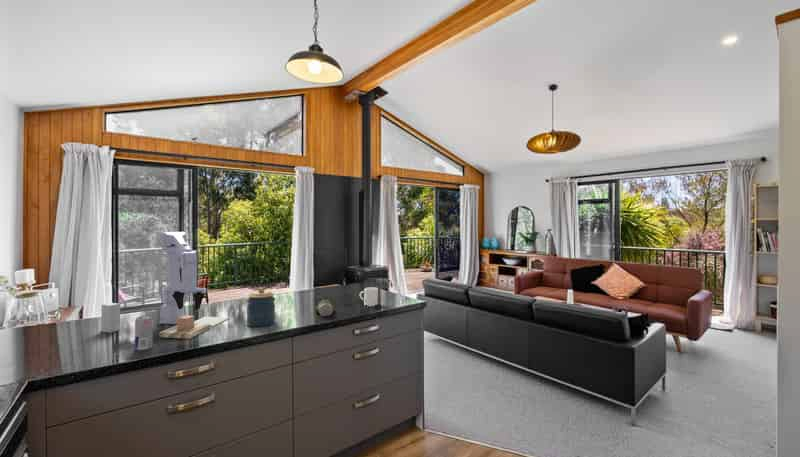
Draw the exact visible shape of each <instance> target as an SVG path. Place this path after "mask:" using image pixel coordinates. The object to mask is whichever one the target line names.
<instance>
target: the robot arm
mask: <svg viewBox="0 0 800 457" xmlns="http://www.w3.org/2000/svg"><path fill="white" fill-rule="evenodd" d="M187 240H188V235H187V233H186V231H163V232H161V234H160V243H161V244H160V246H161V249H162V250H163V251H165V253H166V260H167V272H168V274H167V275H168V284H167V285H166V286H164V287H163V289H162V295H161V298H162V303H163V304H162V305H161V307H160V312H159V315H160V318H159V319H160V321H159V322H158V324H165V325H166V324H167V325H168V324H169V325H177V318H180V317H182V316H185V304H186V302H187V301H188V300H189V293H190V294H191V293H192V294H193V298H194V308H195V310H199V309H201V305H202V301H203V299H204V298H205V295H206V293H207V288H206V287H205V288H204V287H198V286H197V285H198V284H197V278H198V277H197V274H198V273H197V272H198V271H197V270H198V269H197V268H198V266H197V265H198V264H199V260H200V257H199V252H198V251H197V250H194V249H193V248H192V246H191V245H190V244H189V243H188V242H187ZM180 270H181V272H180ZM180 273H181V274H180Z"/></svg>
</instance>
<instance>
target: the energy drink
mask: <svg viewBox="0 0 800 457" xmlns="http://www.w3.org/2000/svg"><path fill="white" fill-rule="evenodd" d="M152 317H153V316H151V315H143V316H139V317H136V318H135V321H134V330H135V331H134V348H135V350H136V351H146V350H149V349H152V348H153V318H152Z"/></svg>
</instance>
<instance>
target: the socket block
mask: <svg viewBox="0 0 800 457" xmlns="http://www.w3.org/2000/svg"><path fill="white" fill-rule="evenodd" d="M211 327H212V326H211V324H197V323H194V328H192V329H190V330H177V324H175V325H174V326H171V327H169V328H167V329H164V330H162V331H160V332H159V333H158V334H159V338H168V339H188V340H189V339H190V340H191V339H192V338H194V337H196V336H198V335H200V334H203V333H205V332H206V331H208V330H210V329H211Z"/></svg>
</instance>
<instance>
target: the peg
mask: <svg viewBox="0 0 800 457" xmlns="http://www.w3.org/2000/svg"><path fill="white" fill-rule="evenodd" d="M194 321H195V315H185V314H184V316H182V317H180V318H177V324H176V325H177V330H190V329H192V328H194Z"/></svg>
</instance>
